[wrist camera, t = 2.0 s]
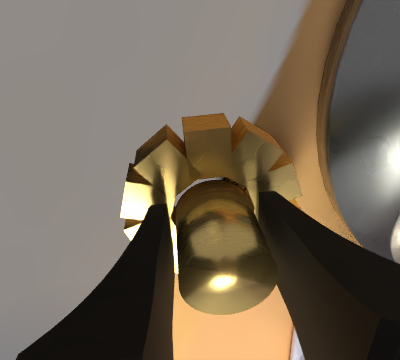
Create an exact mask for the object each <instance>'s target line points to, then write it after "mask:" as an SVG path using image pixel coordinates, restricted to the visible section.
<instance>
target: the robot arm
mask: <svg viewBox="0 0 400 360" xmlns="http://www.w3.org/2000/svg"><path fill="white" fill-rule="evenodd" d="M258 222H259V225H260V227H261V229H262V232H263V234H264V236H265V239H266V241H267V243H268V246H269V248H270V250H271V253H272V255H273V258H274V260H275V262H276V265H277V268H278V280H277V283H276V284H277V286H278V288H279V291H280V293H281V295H282V297H283V299H284V302H285V304H286V306H287V309H288V311H289V314H290V316H291V319H292V322H293V325H294V330H293V338H292V347H291V355H290V360H400V264H399V263H396V262H394V261H392V260H389V259H387V258H385V257H382V256H380V255H378V254H375V253H373V252H371V251H369V250H367V249H365V248H363V247H361V246H359V245H357V244H355V243H353V242H351V241H349V240H347V239H345V238H343V237H342V236H340V235H338V234H336V233H335V232H333V231H332V230H330V229H328V228H327V227H325V226H323V225H322V224H320V223H319V222H317V221H316V220H314V219H313V218H311V217H310V216H309V215H307V214H306V213H304V212H303V211H302V210H300V209H299V208H297V207H296V206H295V205H293V204H292V203H291V202H289V201H288V200H287V199H285V198H284V197H283V196H282V195H280V194H279V193H277V192H276V191H266V192H259V207H258ZM174 278H175V262H174V248H173V240H172V233H171V227H170V220H169V214H168V207H167V203H165V204H157V205H150V207H149V208H148V210H147V212H146V214H145V216H144V218H143V220H142V222H141V224H140V226H139V228H138V230H137V232H136V233H135V235H134V237H133V238H132V240H131V242H130V243H129V245H128V246H127V248H126V250H125V251H124V252H123V254H122V256H121V257H120V258H119V260H118V261H117V263H116V264H115V265H114V267H113V268H112V269H111V270H110V272H109V273H108V274H107V275H106V276H105V278H104V279H103V280H102V281H101V282H100V283H99V284H98V286H97V287H96V288H95V289H94V290H93V291H92V292H91V293H90V294H89V296H87V297H86V298H85V299H84V300H83V301H82V302H81V303H80V304H79V305H78V306H77V307H76V308H75V309H74V310H73V311H72V312H71V313H70V314H68V315H67V316H66V317H65V318H64V319H63V320H62V321H60V322H59V323H58V324H57V325H56V326H54V327H53V328H52V329H51V330H50V331H48V332H47V333H46V334H44V335H43V336H42V337H40V338H39V339H38V340H37V341H35V342H34V343H33V344H31V345H30V346H29V347H27V348H26V349H25V350H24V351H22V352H21V353H19V354H18V356H17V358H16V360H173V340H172V320H173V299H174Z"/></svg>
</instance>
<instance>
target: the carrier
mask: <svg viewBox="0 0 400 360" xmlns="http://www.w3.org/2000/svg"><path fill="white" fill-rule="evenodd" d="M317 147H318V158H319V166H320V170H321V174H322V178H323V182H324V186H325V189H326V192H327V194H328V196H329V198H330V201H331V203H332V205H333V207H334V209H335V211H336V212H337V214H338V215H339V217H340V218H341V220H342V221H343V222H344V224H345V225H346V227H347V228H348V229H349V230H350V232H351V233H352V234H353V235H354V237H355V238H356V239H357V240H358V242H359V243H360V244H361V245H362V246H363V247H364V248H365V249H367V250H369V251H371V252H373V253H375V254H378V255H380V256H382V257H385V258H387V259H389V260H392V261H394V262H396V263H399V264H400V0H347V3H346V5H345V7H344V10H343V12H342V15H341V17H340V19H339V22H338V24H337V28H336V31H335V34H334V38H333V41H332V44H331V48H330V51H329V54H328V58H327V61H326V64H325V68H324V74H323V80H322V85H321V91H320V96H319V102H318V117H317Z"/></svg>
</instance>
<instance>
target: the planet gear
mask: <svg viewBox="0 0 400 360" xmlns="http://www.w3.org/2000/svg"><path fill="white" fill-rule="evenodd" d="M182 124H183V132H184V142H183V141H182V140H181V139H180V138H179V137H178V136H177V135H176V134H175V133H174V132H173V131H172V130H171V128H170V127H169V126H167V125H165V126H164V127H163V128H162V129H160V131H158V132H157V133H156V134H155V135H154V136H152V137H151V138H150V139H149V140H148V141H147V142H146V143H144V144H143V145H142V146H141V147H140V148H139V149H138V150H137V151H136V157H135V163H134V164H131V163H129V168H128V173H127V178H126V183H125V190H124V196H123V203H122V210H121V218H126V220H125V226H124V232H125V233H126V234H127V236H128V237H129V239H130V240H132V238H133V237H134V235H135V233H136V232H137V230H138V228H139V226H140V224H141V222H142V220H143V218H144V216H145V214H146V212H147V210H148V208H149V207H150V205H157V204H165V203H167V207H168V214H169V220H170V227H171V233H172V240H173V248H174V262H175V273H177V274H178V280H179V290H180V294H181V296H182V298H183V299H184V300H185V302H186V303H187V304H188V305H190V306H191V307H193V308H194V309H196V310H198V311H201V312H204V313H208V314H214V315H227V314H234V313H239V312H242V311H245V310H248V309H250V308H252V307H254V306H256V305H258V304H259V303H260V302H262V301H263V300H264V299H265V298H267V297H268V296H269V294H270V293H271V292H272V291H273V289H274V287H275V285H276V283H277V280H278V268H277V265H276V262H275V260H274V258H273V255H272V253H271V250H270V248H269V246H268V243H267V241H266V239H265V236H264V234H263V232H262V229H261V227H260V225H259V222H258V207H259V192H266V191H276V192H277V193H279V194H280V195H282V196H283V197H284V198H285V199H287V200H288V201H289V202H291V203H292V204H293V205H295V206H296V207H297V208H299V209H301V208H300V207H299V205H298V204H297V202H296V201H295V198H297V197H300V196H302V193H301V189H300V186H299V182H298V179H297V175H296V172H295V168H294V165H293V162H292V161H291V160H290V159H289V157H288V156H287V155H286V153H285V152H284V151H283V150H282V148H281V147H280V146H279V145H278V143H277V142H276V141H275V139H274V138H273V137H272V136H271V135H270V134H268V133H266V132H265V131H263V130H261V129H260V128H258V127H256V126H255V125H253V124H251V123H250V122H248V121H246V120H245V119H243V118H241V117H239V118H238V120H237V121H236V122H235V124H234V125H233V127H232V128H231V126H230V124H229V122H228V121H227V119H226V117H225V115H224V113H220V114H211V115H202V116H192V117H182ZM224 176H225V177H227V178H229V179H231V180H233V181H235V182H237V183H239V184H241V185H243V186H245V187H246V191H245V192H244V191H243V190H242V189H241V188H240V187H238V186H237V185H235V184H233V183H231V182H227V181H222V180H210V181H205V182H202V183H199V184H196V185H194V186H193V187H191V188H190V189H188V190H187V191H186V192H185V193H184V194H183V195H182V196H181V198H180V199H179V201H178V203H177V205H176V207H175V206H174V202H175V197H176V196H177V195H178V194H179V193H180V192H182V191H183V190H184V189H185V188H187V187H188V186H189V185H191V184H192V183H193V182H194V181H196V180H197V179H206V178H215V177H224Z"/></svg>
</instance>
